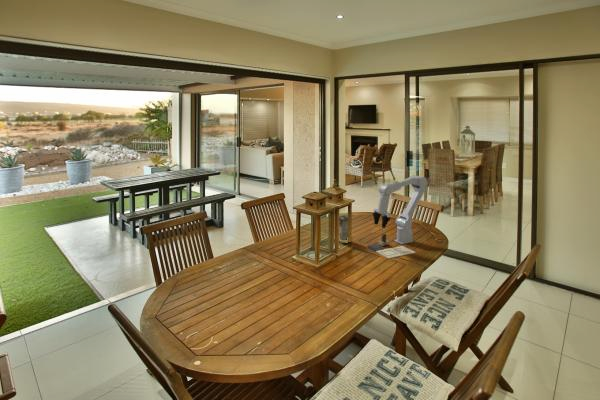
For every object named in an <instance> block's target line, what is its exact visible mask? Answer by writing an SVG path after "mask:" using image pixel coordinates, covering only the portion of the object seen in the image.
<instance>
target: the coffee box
mask: <svg viewBox="0 0 600 400" xmlns="http://www.w3.org/2000/svg"><path fill="white" fill-rule="evenodd" d="M348 218H349V217H348V216H346V215H340V217H339V235H340V239H341V240H347V237H348Z"/></svg>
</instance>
